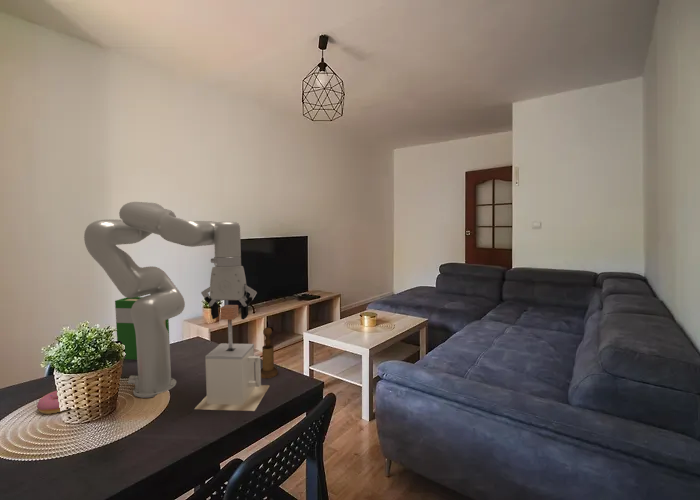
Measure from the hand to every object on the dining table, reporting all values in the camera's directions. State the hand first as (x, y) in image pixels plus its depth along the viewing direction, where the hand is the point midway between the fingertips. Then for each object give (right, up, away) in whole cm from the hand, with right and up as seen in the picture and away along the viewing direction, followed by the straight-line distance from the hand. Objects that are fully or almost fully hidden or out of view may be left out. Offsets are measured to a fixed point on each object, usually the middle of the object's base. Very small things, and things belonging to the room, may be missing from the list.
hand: (229, 317), depth 109 cm
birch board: (+1, -26, +2) cm, 26 cm away
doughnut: (-50, -27, -2) cm, 57 cm away
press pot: (+2, -25, +2) cm, 25 cm away
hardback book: (-48, -23, +38) cm, 65 cm away
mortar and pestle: (+8, -25, +18) cm, 31 cm away
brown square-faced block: (0, -15, +1) cm, 15 cm away
